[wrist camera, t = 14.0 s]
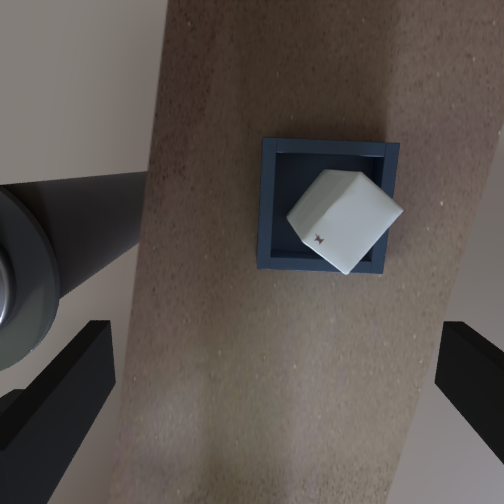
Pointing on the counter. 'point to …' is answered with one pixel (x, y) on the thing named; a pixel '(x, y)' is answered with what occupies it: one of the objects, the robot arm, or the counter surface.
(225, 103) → the counter surface
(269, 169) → the holder
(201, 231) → the counter surface
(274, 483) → the counter surface
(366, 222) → the cosmetic box
